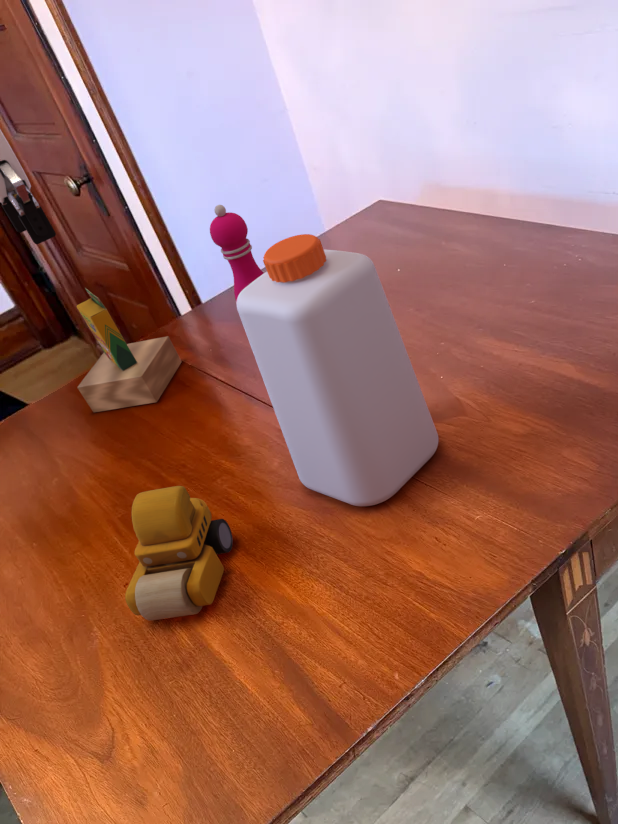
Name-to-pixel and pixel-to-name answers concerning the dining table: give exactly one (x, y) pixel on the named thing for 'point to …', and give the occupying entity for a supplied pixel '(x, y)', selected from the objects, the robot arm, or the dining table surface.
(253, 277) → the pepper mill
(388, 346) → the plastic bottle
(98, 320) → the crayon box
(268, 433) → the dining table surface
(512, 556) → the dining table surface
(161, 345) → the maple block
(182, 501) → the toy roller
